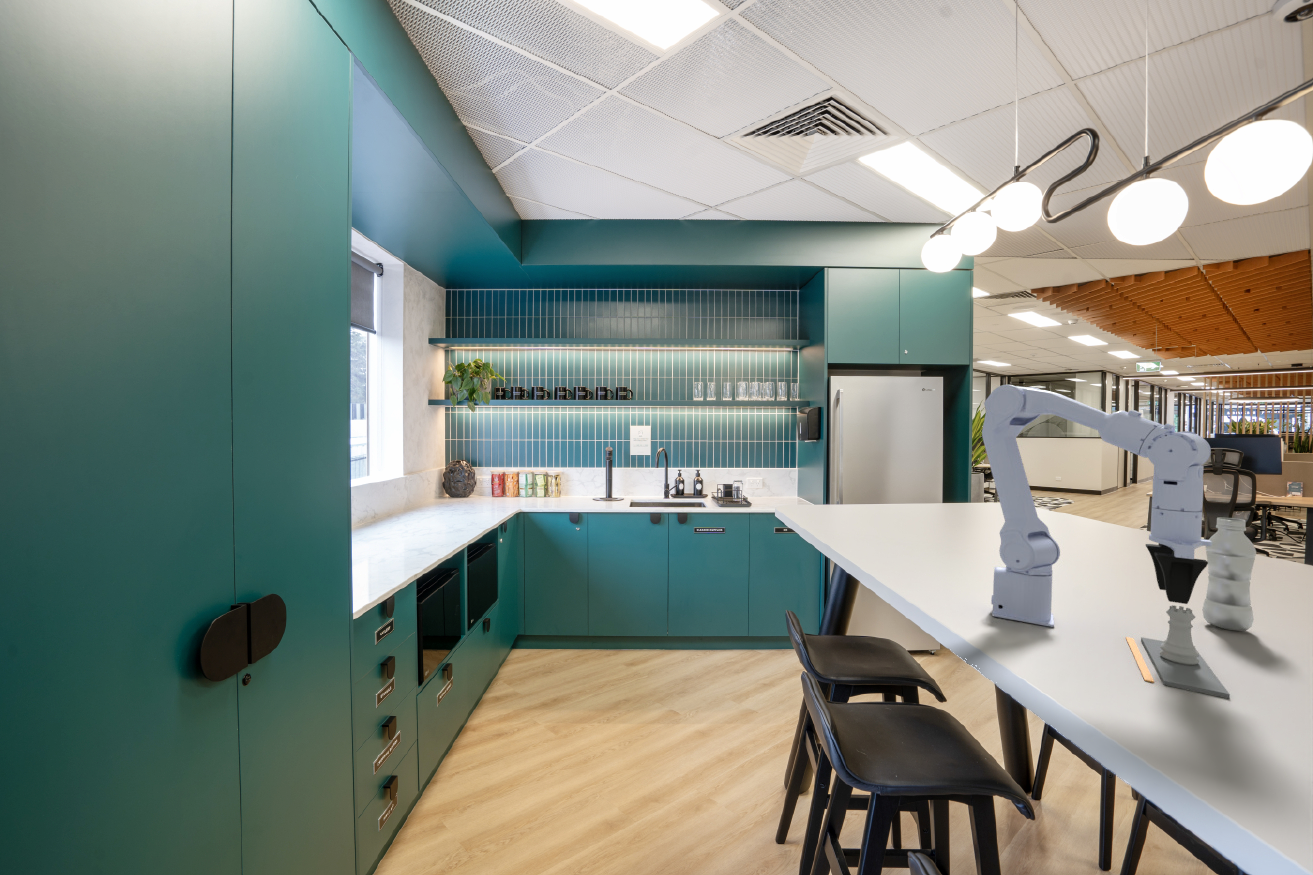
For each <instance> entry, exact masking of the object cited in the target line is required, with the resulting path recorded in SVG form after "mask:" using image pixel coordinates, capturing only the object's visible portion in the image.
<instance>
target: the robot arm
mask: <svg viewBox="0 0 1313 875" xmlns="http://www.w3.org/2000/svg"><path fill="white" fill-rule="evenodd" d="M983 404H984V408H985V411H986V412H985V416H984V421H983V424H982V430H981V435H982V436H981V437H982V440H983V444H984V448H985V452H986V455H987V460H988V463H989V466H990V470H991V475H992V478H993V482H994V485H995V490H996V492H997V497H998V500H999V503H1000V508H1001V511H1002V515H1003V518H1004V522H1003V526H1002V527H1001V528H1000V530H999V537H1000V547H999V552H998V553H999V556H1000V559H1001V561H1002V562H1003V563H1004V565H1005V567H1003V566H1002V567H1001V566H995V567H994V568H993V569H994V570H993V571H994V572H993V588H992V589H993V590H992V591H993V592H992V595H991V602H990V603H991V605H992V614H991V615H992V617H996V618H999V619H1006V620H1012V621H1019V622H1022V623H1023V622H1024V623H1028V624H1034V625H1041V626H1045V627H1052V628H1053V627H1055V621H1054V620H1055V619H1054V613H1052V602H1053V601H1052V597H1053V565H1055V564H1056V563H1057V562H1058V561H1059V559H1060V556H1061V549H1060V546H1059V544H1058V542H1057V541H1056V540H1055V539H1054V538H1053V536H1051V534H1050V533H1051V532H1050V531H1049V530H1050V529H1049V527H1048V526H1047V525H1046V524H1045V523H1044V522H1043V521H1042V520H1041V518H1039V516H1038V513H1037V509H1036V506H1035V502H1034V498H1033V495H1032V491H1031V488H1030V484H1029V481H1028V478H1027V477H1028V476H1027V475H1026V474H1027V473H1026V471H1025V466H1024V464H1023V460H1022V456H1021V453H1020V450H1019V446H1018V441H1017V437H1018V436H1019V434H1020V433H1021V432H1022V431H1023V430H1024V428H1026V426H1028V425H1029V424H1031V423H1032V422H1034V421H1035V420H1036V419H1038V418H1040V416H1042V415H1045V416H1050V415H1053V416H1057V417H1060V418H1062V419H1065V420H1067V421H1071V422H1073V423H1076V424H1079V425H1082V426H1085V427H1088V428H1091V429H1093V430H1096V431H1097V432H1098V434H1099V436H1100V438H1101V440H1102V441H1103V442H1105V443H1107V444H1109V445H1112V446H1115V447H1117V448H1120V449H1122V450H1124V451H1127V452H1130V453H1132V454H1135V455H1136V456H1140V457H1142V458H1145V459H1146V458H1148V460H1149V462H1150V463H1151V464H1152V465H1153V479H1152V495H1151V496H1152V497H1151V515H1150V516H1151V519H1150V534H1148V540H1149V541H1151V542H1154V543H1156V544H1153V543H1146V544H1145V547H1146V548H1147V551H1148V552H1149V554H1150V556H1151V560H1152V562H1153V563H1152V564H1153V566H1154V571H1155V577H1156V583H1157V586H1158V588H1159V590H1160V591H1165V595H1166V598H1167V600H1168V602H1171V603H1176V604H1184V605H1188V604H1189V602H1190V599H1191V596H1192V593H1193V591H1194V587H1195V585H1196V582H1197V580H1198V578H1199V576H1200V575H1201V573H1202V572H1203V571H1204V570H1205V569H1206V568H1207V567H1208V561H1207V559H1198V558H1195V550H1196V549H1198V548H1200V547H1203V546H1205V547H1206V546H1212V542H1211V541H1210V540H1209V539H1202V528H1203V527H1202V526H1203V524H1202V523H1203V504H1204V503H1203V502H1204V486H1205V485H1204V484H1205V483H1204V464H1205V463H1206V462H1207V461H1208V460H1209V459H1210V456H1211V454H1212V451H1211V450H1212V449H1211V446H1210V444H1209V442H1208V441H1207V440H1206V439H1205V438H1204V437H1202V436H1201V435H1198V434H1197V433H1196V432H1194V431H1178V432H1176V425H1174V424H1171V423H1165V424H1162V423H1160V422H1156V421H1153V420H1151V419H1148V418H1145V417H1142V415H1143V413H1142V412H1140V411H1137V410H1133V409H1130V410H1129V411H1126V410H1118V411H1115V412H1112V413H1108V412H1105V411H1103V410H1100V409H1098V408H1095V407H1092V406H1090V405H1088V404H1086V403H1083V402H1081V401H1078V400H1076V399H1074V398H1070V397H1068V396H1066V395H1063V394H1061V393H1057V392H1053V391H1049V390H1045V389H1040V388H1038V387H1034V386H1028V387H1027V386H1026V387H1025V386H1017V385H1016V386H1015V385H1013V384H1003V385H1000V386H997V387H996V388H994V390H992V391H991V393H990V394H989V396H988V397H987V398H986V400H985V401H984V402H983ZM1157 543H1158V544H1157Z"/></svg>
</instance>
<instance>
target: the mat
mask: <svg viewBox="0 0 1313 875" xmlns="http://www.w3.org/2000/svg"><path fill="white" fill-rule="evenodd" d="M1164 641H1165V640H1164ZM1164 641H1163V640H1159V639H1153V638H1149V637H1147V638H1146V637H1143V636H1142V637H1140V642H1141V644H1142V646H1143V647H1144V649H1145V651H1146V653H1147V655H1148V657H1149V659H1150V661H1151V663H1152V665H1153V667H1154V669H1155V670H1156V673H1157V675H1158V676H1159V678H1160V680H1161V681H1160V682H1162V684H1163V686H1166V687H1167V686H1168V687H1171V688H1177V689H1181V690H1186V691H1191V692H1197V693H1201V694H1206V695H1211V696H1216V697H1219V696H1220V697H1221V698H1225V699H1230V695H1231V694H1230V692H1229V691H1228V690H1227V688H1226V687H1225V686H1224V684H1223V683H1222V682H1221V681H1220V679H1219V678H1218V676H1216V673H1215V672H1214V671H1213V670H1212V669H1211V668H1210V666H1209V664H1208V663H1207V662H1206V661H1205V658H1204V657H1202V655H1201V654H1200V652H1199V650H1197V649H1196V648H1195V650H1196V651H1197V652H1198V654H1199V656H1198V657H1197V659H1198V660H1199V663H1198V664H1196V665H1183V664H1178V663H1174V662H1171V661H1168V660H1166V659H1164V658H1163V657H1162V656H1161V655H1160V652H1161V651H1163V650H1162V649H1161V648H1160V647H1161V645H1162V644H1163V643H1165V642H1164ZM1220 697H1219V698H1220Z"/></svg>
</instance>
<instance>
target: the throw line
mask: <svg viewBox="0 0 1313 875" xmlns="http://www.w3.org/2000/svg"><path fill="white" fill-rule="evenodd" d="M1125 640H1126V641H1127V642H1126V643H1127V644H1128V647H1129V649H1130V651H1131V654H1132V656H1133V658H1134V660H1135V663H1136V665H1137V667H1138V669H1139V671H1140V673H1141V674H1140V675H1141V676H1142V678H1143V680H1144V681H1145V682H1148V683H1155V680H1154V678H1153V676H1152V673H1151V671H1150V670H1149V667H1148V666H1147V664H1146V662H1145V660H1144V658H1143V657H1144V656H1143V655H1142V653H1141V651H1140V648H1139V647H1138V645H1137V643H1136V640H1135V639H1134V638H1133V637H1128V636H1125Z"/></svg>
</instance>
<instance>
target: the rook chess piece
mask: <svg viewBox="0 0 1313 875" xmlns="http://www.w3.org/2000/svg"><path fill="white" fill-rule="evenodd" d="M1184 608H1185V607H1184V606H1182V605H1181V606H1178V608H1177V605H1173V604H1172V605H1169V609H1167V610H1166V611H1165V612H1166V614H1167V616H1168V617H1169V620H1168V621H1167V623H1168V624H1169V625H1168V632H1167V637H1166V639H1164V642H1165V643H1163V644H1162V645H1161V647H1160V648H1161V649H1162V650H1163V651H1161V652H1160V655H1161V656H1162V657H1163V658H1164V659H1166V660H1168V661H1171V662H1174V663H1178V664H1183V665H1196V664H1198V663H1199V660H1198V659H1197V657H1198V656H1199V654H1200V653H1199V651H1198V650H1197V649H1196V646H1195V645H1194V643H1193V638H1192V629H1193V628H1194V626H1193V624H1192V622H1193V620H1194V619H1196V616H1195V614H1194V613H1193V609H1191V608H1189V607H1186V608H1185V609H1184ZM1195 649H1196V650H1197V651H1198V652H1197V651H1196V650H1195ZM1198 653H1199V654H1198Z"/></svg>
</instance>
